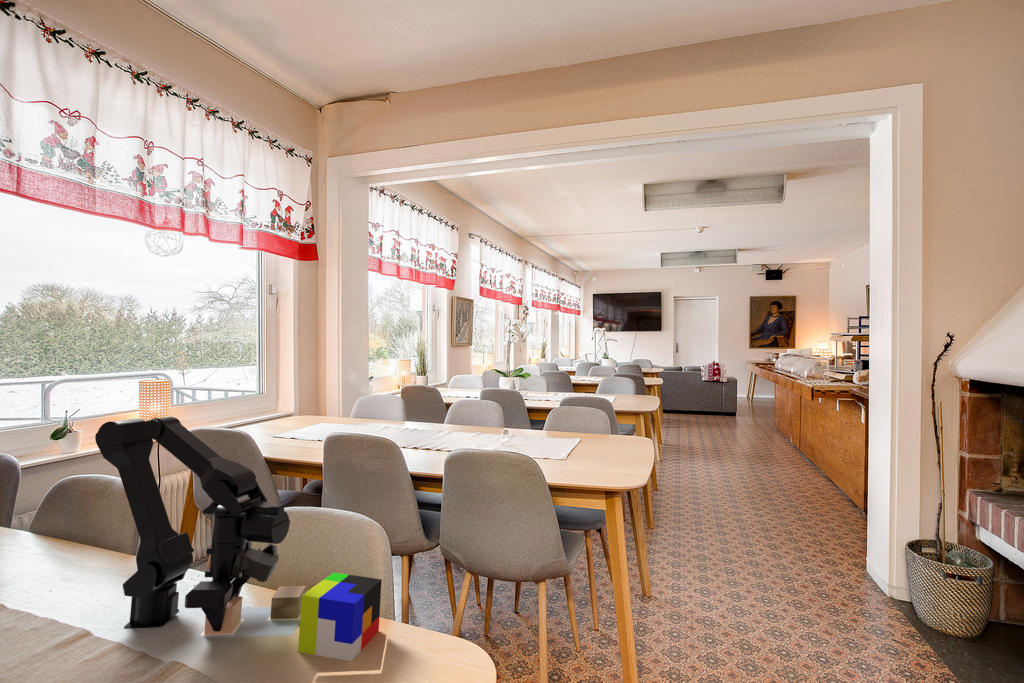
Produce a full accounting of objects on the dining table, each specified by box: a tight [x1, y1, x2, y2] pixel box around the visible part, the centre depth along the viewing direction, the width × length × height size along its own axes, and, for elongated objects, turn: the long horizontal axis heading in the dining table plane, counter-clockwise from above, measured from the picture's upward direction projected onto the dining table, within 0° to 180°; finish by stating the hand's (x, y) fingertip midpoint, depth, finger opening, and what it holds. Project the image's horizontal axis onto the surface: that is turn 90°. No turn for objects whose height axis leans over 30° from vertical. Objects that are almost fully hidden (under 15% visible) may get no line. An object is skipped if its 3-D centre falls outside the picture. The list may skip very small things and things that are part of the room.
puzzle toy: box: [297, 572, 383, 662], centre depth 89 cm, size 10×10×10 cm
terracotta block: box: [204, 595, 243, 634], centre depth 92 cm, size 4×4×4 cm
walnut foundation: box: [270, 585, 306, 619], centre depth 98 cm, size 5×5×4 cm
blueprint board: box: [195, 606, 301, 639], centre depth 95 cm, size 16×12×1 cm
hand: (223, 624), depth 92 cm, fingers closed on terracotta block, 4 cm apart
